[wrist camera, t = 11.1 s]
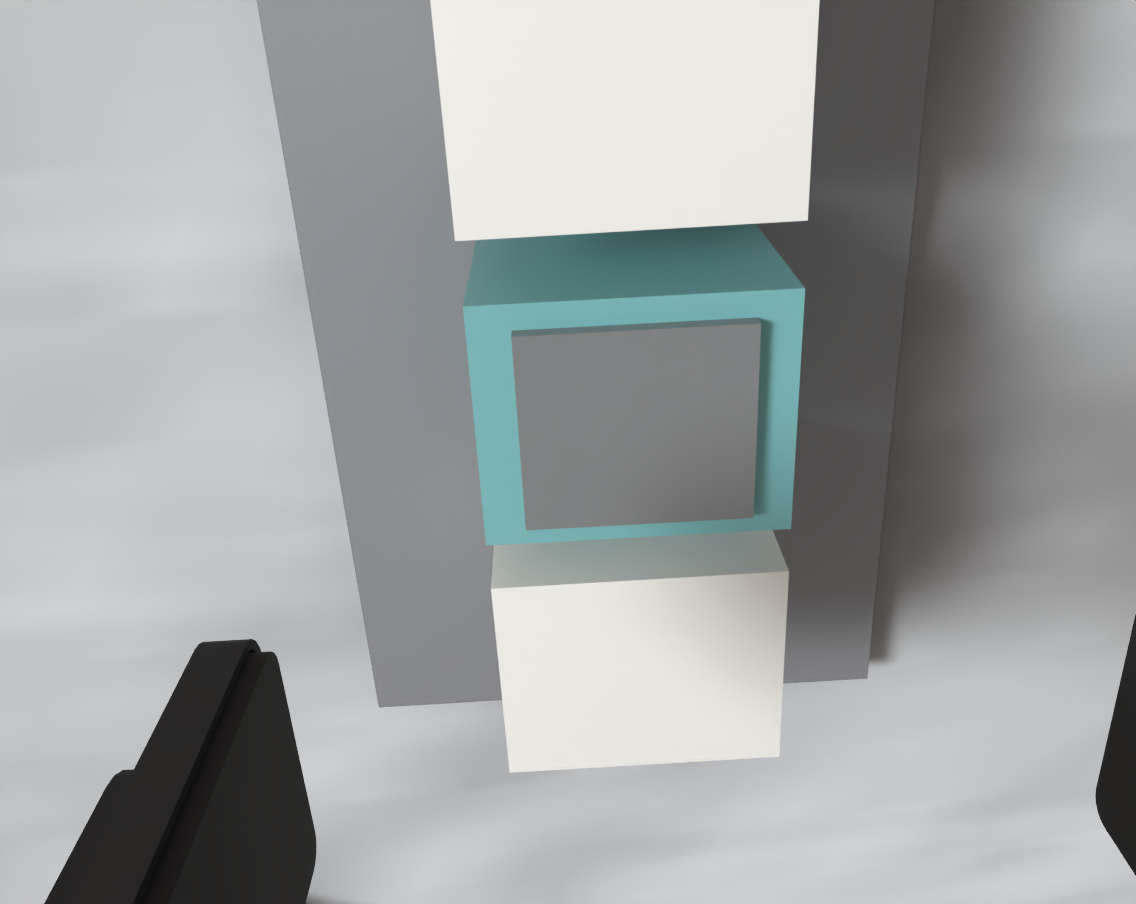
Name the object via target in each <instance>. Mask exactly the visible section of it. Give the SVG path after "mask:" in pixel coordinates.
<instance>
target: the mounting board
mask: <svg viewBox="0 0 1136 904" xmlns="http://www.w3.org/2000/svg"><path fill="white" fill-rule="evenodd" d="M257 5H258V10H259V16H260V22H261V28H262V34H263V39H264V45H265V51H266V57H267V63H268V68H269V74H270V80H271V86H272V91H273V97H274V103H275V109H276V115H277V120H278V126H279V132H280V138H281V144H282V149H283V155H284V161H285V167H286V173H287V178H288V184H289V190H290V196H291V201H292V207H293V213H294V219H295V225H296V230H297V236H298V242H299V248H300V254H301V259H302V265H303V271H304V277H305V282H306V288H307V294H308V300H309V306H310V311H311V317H312V323H313V329H314V335H315V340H316V346H317V352H318V358H319V363H320V369H321V375H322V381H323V387H324V392H325V398H326V404H327V410H328V416H329V421H330V427H331V433H332V439H333V445H334V450H335V456H336V462H337V468H338V473H339V479H340V485H341V491H342V497H343V502H344V508H345V514H346V520H347V526H348V531H349V537H350V543H351V549H352V554H353V560H354V566H355V572H356V578H357V583H358V589H359V595H360V601H361V607H362V612H363V618H364V624H365V630H366V635H367V641H368V647H369V653H370V659H371V664H372V670H373V676H374V682H375V688H376V693H377V699H378V705H379V707H393V706H410V705H427V704H443V703H460V702H477V701H494V700H502V692H501V683H500V673H499V663H498V654H497V644H496V634H495V624H494V615H493V605H492V595H491V579H492V565H493V551H494V545H488V546H486V540H485V530H484V519H483V509H482V499H481V488H480V478H479V468H478V457H477V447H476V437H475V427H474V416H473V406H472V396H471V385H470V375H469V365H468V354H467V344H466V334H465V323H464V313H463V303H464V298H465V293H466V288H467V283H468V278H469V273H470V268H471V263H472V258H473V253H474V248H475V243H476V240H468V241H455V236H454V227H453V217H452V207H451V197H450V188H449V178H448V168H447V159H446V149H445V139H444V130H443V120H442V110H441V100H440V91H439V81H438V71H437V62H436V52H435V42H434V33H433V23H432V13H431V3H430V0H257ZM934 5H935V0H820V2H819V20H818V39H817V58H816V76H815V95H814V114H813V133H812V151H811V170H810V189H809V207H808V221H792V222H775V223H758V224H756V225H757V226H758V227H759V229H760V230H761V231H762V233H763V234H764V235H765V236H766V238H767V239H768V240H769V242H770V243H771V244H772V246H773V247H774V248H775V249H776V251H777V252H778V253H779V255H780V256H781V257H782V259H783V260H784V261H785V262H786V264H787V265H788V266H789V268H790V269H791V270H792V272H793V273H794V274H795V275H796V277H797V278H798V279H799V281H800V282H801V283H802V285H803V286H804V287H805V301H804V318H803V335H802V351H801V368H800V385H799V402H798V419H797V436H796V452H795V469H794V486H793V503H792V520H791V529H782V530H773V532H774V535H775V537H776V540H777V542H778V545H779V547H780V550H781V552H782V555H783V557H784V560H785V562H786V565H787V567H788V570H789V581H788V599H787V618H786V637H785V655H784V674H783V683H798V682H815V681H832V680H849V679H866V678H867V676H868V666H869V656H870V646H871V636H872V626H873V616H874V606H875V596H876V586H877V576H878V566H879V556H880V546H881V536H882V526H883V516H884V506H885V496H886V486H887V476H888V466H889V456H890V446H891V436H892V425H893V415H894V405H895V395H896V385H897V375H898V365H899V355H900V345H901V335H902V325H903V315H904V305H905V295H906V285H907V275H908V265H909V255H910V245H911V235H912V225H913V215H914V205H915V195H916V185H917V175H918V165H919V155H920V145H921V135H922V125H923V115H924V105H925V95H926V85H927V75H928V65H929V55H930V45H931V35H932V25H933V15H934Z"/></svg>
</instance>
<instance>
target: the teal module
mask: <svg viewBox="0 0 1136 904" xmlns="http://www.w3.org/2000/svg"><path fill="white" fill-rule="evenodd" d="M804 301H805V287H804V286H803V285H802V283H801V282H800V281H799V279H798V278H797V277H796V275H795V274H794V273H793V272H792V270H791V269H790V268H789V266H788V265H787V264H786V262H785V261H784V260H783V259H782V257H781V256H780V255H779V253H778V252H777V251H776V249H775V248H774V247H773V246H772V244H771V243H770V242H769V240H768V239H767V238H766V236H765V235H764V234H763V233H762V231H761V230H760V229H759V227H758V226H757V225H756V224H741V225H724V226H707V227H689V228H672V229H655V230H638V231H621V232H604V233H587V234H570V235H553V236H536V237H519V238H502V239H485V240H476V243H475V248H474V253H473V258H472V263H471V268H470V273H469V278H468V283H467V288H466V293H465V298H464V303H463V313H464V323H465V334H466V344H467V354H468V365H469V375H470V385H471V396H472V406H473V416H474V427H475V437H476V447H477V457H478V468H479V478H480V488H481V499H482V509H483V519H484V530H485V540H486V546H488V545H506V544H525V543H543V542H561V541H580V540H598V539H617V538H635V537H653V536H672V535H690V534H708V533H727V532H745V531H763V530H782V529H791V520H792V503H793V486H794V469H795V452H796V436H797V419H798V402H799V385H800V368H801V351H802V335H803V318H804Z"/></svg>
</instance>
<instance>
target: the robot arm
mask: <svg viewBox="0 0 1136 904" xmlns="http://www.w3.org/2000/svg"><path fill="white" fill-rule="evenodd" d="M1096 805H1097V809H1098V813H1099V816H1100V819H1101V821H1102V823H1103V825H1104V827H1105V829H1106V830H1107V832H1108V833H1109V835H1110V836H1111V838H1112V840H1113V841H1114V843H1115V844H1116V846H1117V847H1118V849H1119V850H1120V852H1121V853H1122V855H1123V857H1124V858H1125V860H1126V861H1127V863H1128V864H1129V866H1130V867H1131V869H1132V870H1133V872H1134V874H1135V875H1136V615H1135V619H1134V624H1133V628H1132V633H1131V637H1130V641H1129V646H1128V650H1127V655H1126V659H1125V664H1124V668H1123V672H1122V677H1121V681H1120V686H1119V690H1118V695H1117V699H1116V703H1115V708H1114V712H1113V717H1112V721H1111V726H1110V730H1109V734H1108V739H1107V743H1106V748H1105V752H1104V757H1103V761H1102V765H1101V770H1100V774H1099V779H1098V783H1097V788H1096ZM315 860H316V836H315V829H314V825H313V820H312V816H311V811H310V806H309V802H308V797H307V792H306V788H305V783H304V778H303V774H302V769H301V765H300V760H299V755H298V751H297V746H296V741H295V737H294V732H293V727H292V723H291V718H290V714H289V709H288V704H287V700H286V695H285V690H284V686H283V681H282V676H281V672H280V667H279V663H278V659H277V657H276V655H275V653H273V652H261V650H260V647H259V645H258V644H257V642H256V641H255V640H253V639H249V640H231V641H213V642H202V643H200V644H199V645H198V646H197V647H196V649H195V650H194V652H193V654H192V656H191V658H190V660H189V662H188V664H187V666H186V668H185V670H184V672H183V674H182V676H181V678H180V680H179V682H178V684H177V686H176V688H175V690H174V692H173V694H172V696H171V698H170V700H169V702H168V704H167V706H166V708H165V710H164V712H163V714H162V715H161V717H160V719H159V721H158V723H157V725H156V727H155V729H154V731H153V733H152V735H151V737H150V739H149V741H148V743H147V745H146V747H145V749H144V751H143V753H142V755H141V757H140V759H139V761H138V763H137V765H136V767H135V769H134V770H122V771H121V772H119V773H118V774H116V775H115V776H114V777H113V778H112V780H111V781H110V783H109V784H108V785H107V787H106V788H105V790H104V792H103V794H102V796H101V798H100V800H99V802H98V804H97V805H96V807H95V809H94V811H93V813H92V815H91V817H90V819H89V821H88V822H87V824H86V826H85V828H84V830H83V832H82V834H81V836H80V837H79V839H78V841H77V843H76V845H75V847H74V849H73V851H72V853H71V854H70V856H69V858H68V860H67V862H66V864H65V866H64V868H63V870H62V871H61V873H60V875H59V877H58V879H57V881H56V883H55V885H54V887H53V888H52V890H51V892H50V894H49V896H48V898H47V900H46V902H45V903H44V904H305V903H306V899H307V895H308V891H309V887H310V883H311V879H312V875H313V872H314V867H315Z"/></svg>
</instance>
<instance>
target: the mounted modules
mask: <svg viewBox="0 0 1136 904" xmlns="http://www.w3.org/2000/svg"><path fill="white" fill-rule="evenodd" d="M819 2H820V0H430V3H431V13H432V23H433V33H434V42H435V52H436V62H437V71H438V81H439V91H440V100H441V110H442V120H443V130H444V139H445V149H446V159H447V168H448V178H449V188H450V197H451V207H452V217H453V227H454V236H455V241H468V240H485V239H502V238H519V237H536V236H553V235H570V234H587V233H604V232H621V231H638V230H655V229H672V228H689V227H707V226H724V225H741V224H758V223H775V222H792V221H808V207H809V189H810V170H811V151H812V133H813V114H814V95H815V76H816V58H817V39H818V20H819ZM788 581H789V570H788V567H787V565H786V562H785V560H784V557H783V555H782V552H781V550H780V547H779V545H778V542H777V540H776V537H775V535H774V532H773V530H763V531H745V532H727V533H708V534H690V535H672V536H653V537H635V538H617V539H598V540H580V541H561V542H543V543H525V544H506V545H494V551H493V565H492V579H491V595H492V605H493V615H494V624H495V634H496V644H497V654H498V663H499V673H500V683H501V692H502V702H503V712H504V721H505V731H506V741H507V751H508V760H509V770H510V773H511V772H528V771H545V770H562V769H579V768H596V767H612V766H629V765H646V764H663V763H680V762H697V761H714V760H731V759H747V758H764V757H779V749H780V730H781V712H782V693H783V674H784V655H785V637H786V618H787V599H788Z"/></svg>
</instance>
